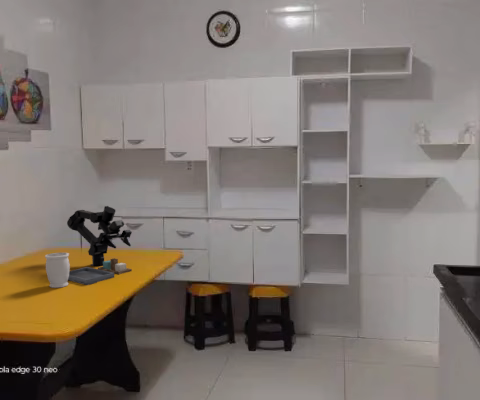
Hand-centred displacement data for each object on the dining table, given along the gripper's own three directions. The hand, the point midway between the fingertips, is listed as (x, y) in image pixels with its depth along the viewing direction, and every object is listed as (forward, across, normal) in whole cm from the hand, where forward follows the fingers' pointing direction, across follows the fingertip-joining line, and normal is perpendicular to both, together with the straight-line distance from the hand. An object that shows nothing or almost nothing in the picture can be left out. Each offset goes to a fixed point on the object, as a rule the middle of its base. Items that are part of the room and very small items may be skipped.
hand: (123, 246), depth 257 cm
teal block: (-2, -1, +17) cm, 17 cm away
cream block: (+6, -1, +12) cm, 13 cm away
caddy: (+2, -1, +15) cm, 15 cm away
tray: (+3, -18, +15) cm, 23 cm away
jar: (+5, -34, +15) cm, 37 cm away
